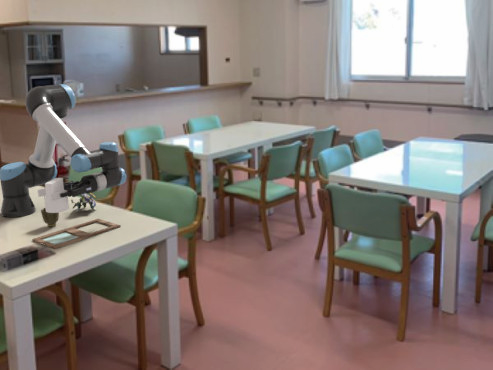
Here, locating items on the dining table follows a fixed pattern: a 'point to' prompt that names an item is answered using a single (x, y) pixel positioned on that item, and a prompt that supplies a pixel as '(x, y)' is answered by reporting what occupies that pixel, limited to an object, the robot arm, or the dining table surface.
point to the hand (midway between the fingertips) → (45, 195)
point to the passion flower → (86, 201)
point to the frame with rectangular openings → (63, 238)
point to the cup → (50, 218)
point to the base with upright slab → (58, 204)
